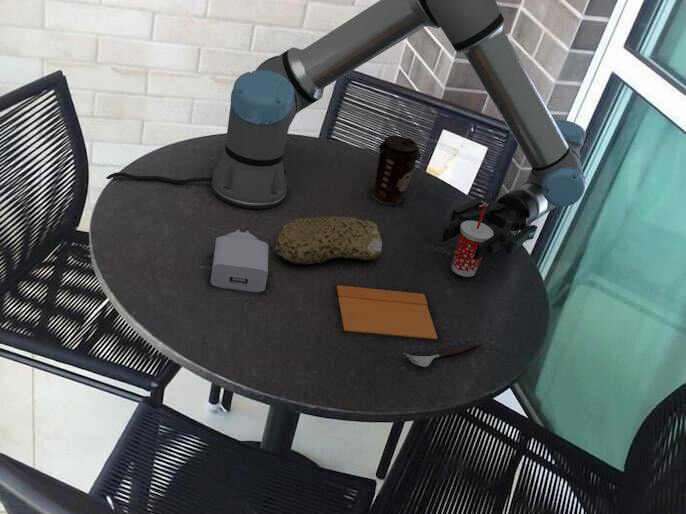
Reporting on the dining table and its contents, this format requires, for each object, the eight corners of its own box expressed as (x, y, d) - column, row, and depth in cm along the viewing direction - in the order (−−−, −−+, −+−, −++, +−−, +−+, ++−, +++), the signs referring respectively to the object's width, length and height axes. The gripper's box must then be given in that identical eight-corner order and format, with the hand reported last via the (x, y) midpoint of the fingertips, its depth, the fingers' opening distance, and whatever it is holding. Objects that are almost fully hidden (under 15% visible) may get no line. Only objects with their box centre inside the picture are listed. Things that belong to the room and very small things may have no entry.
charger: (265, 245, 150) (264, 293, 137) (215, 238, 149) (209, 286, 136) (269, 223, 147) (268, 270, 135) (218, 216, 146) (212, 263, 134)
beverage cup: (465, 258, 156) (487, 195, 148) (485, 276, 152) (509, 212, 144) (440, 262, 153) (461, 198, 145) (460, 281, 149) (482, 216, 141)
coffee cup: (407, 193, 177) (422, 139, 170) (407, 211, 170) (423, 156, 163) (368, 184, 177) (382, 130, 170) (366, 202, 170) (380, 147, 163)
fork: (485, 351, 135) (488, 342, 134) (409, 371, 128) (412, 362, 126) (475, 341, 137) (478, 332, 136) (399, 361, 129) (402, 351, 128)
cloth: (344, 331, 133) (344, 328, 133) (336, 287, 143) (336, 285, 142) (437, 339, 136) (438, 336, 135) (423, 296, 145) (424, 293, 145)
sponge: (363, 242, 159) (268, 217, 152) (381, 214, 154) (284, 186, 147) (372, 291, 150) (271, 267, 143) (391, 263, 145) (288, 236, 138)
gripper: (556, 245, 158) (500, 287, 143) (474, 202, 167) (412, 237, 151) (570, 213, 154) (513, 251, 138) (484, 170, 163) (422, 202, 147)
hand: (460, 244), depth 145 cm, fingers closed on beverage cup, 6 cm apart
